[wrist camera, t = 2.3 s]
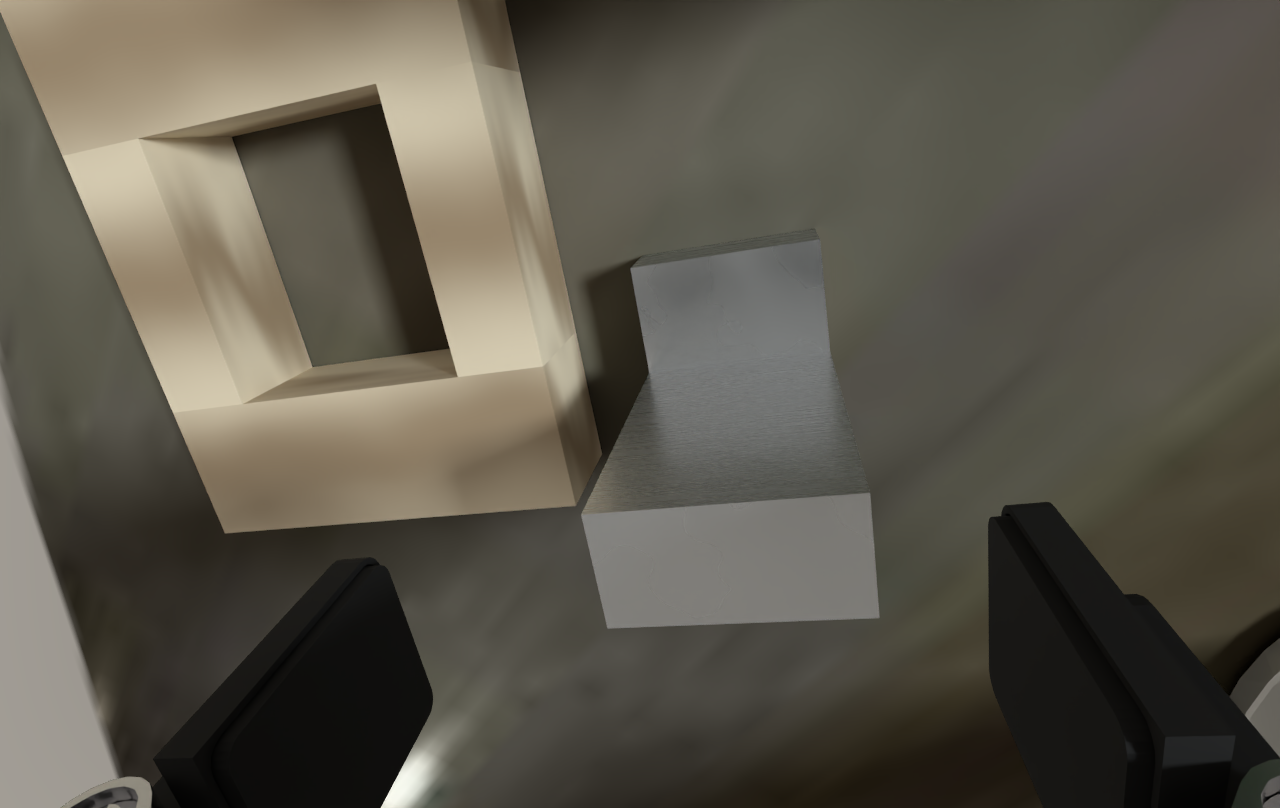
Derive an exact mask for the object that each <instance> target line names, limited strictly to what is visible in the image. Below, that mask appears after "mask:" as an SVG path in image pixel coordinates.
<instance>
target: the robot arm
mask: <svg viewBox="0 0 1280 808" xmlns="http://www.w3.org/2000/svg"><path fill="white" fill-rule="evenodd" d="M988 566H989V672H990V679H991V683H992V687H993V691H994V694H995V696H996V699H997V701H998V703H999V706H1000V708H1001V710H1002V713H1003V715H1004V717H1005V720H1006V722H1007V724H1008V726H1009V729H1010V731H1011V733H1012V736H1013V738H1014V740H1015V743H1016V745H1017V747H1018V750H1019V752H1020V754H1021V757H1022V759H1023V761H1024V764H1025V766H1026V768H1027V770H1028V773H1029V775H1030V777H1031V780H1032V782H1033V784H1034V787H1035V789H1036V791H1037V794H1038V796H1039V798H1040V801H1041V803H1042V805H1043V808H1280V638H1279V639H1278V640H1277V641H1275V642H1274V643H1273V644H1272V645H1271V646H1269V647H1268V648H1267V649H1266V650H1264V651H1263V653H1262V654H1261V655H1260V656H1259V657H1258V658H1257V659H1256V661H1255V662H1254V663H1253V664H1252V665H1251V666H1250V667H1249V669H1248V670H1247V671H1246V672H1245V673H1244V674H1243V676H1242V677H1241V678H1240V679H1239V681H1238V683H1237V684H1236V686H1235V688H1234V690H1233V692H1232V693H1231V695H1230V697H1229V696H1228V695H1227V693H1226V692H1225V691H1224V690H1223V689H1222V687H1221V686H1220V685H1219V684H1218V683H1217V681H1216V680H1215V679H1214V678H1213V677H1212V675H1211V674H1210V673H1209V672H1208V671H1207V669H1206V668H1205V667H1204V666H1203V665H1202V663H1201V662H1200V661H1199V660H1198V659H1197V657H1196V656H1195V655H1194V654H1193V653H1192V651H1191V650H1190V649H1189V648H1188V647H1187V645H1186V644H1185V643H1184V642H1183V641H1182V639H1181V638H1180V637H1179V636H1178V635H1177V633H1176V632H1175V631H1174V630H1173V629H1172V627H1171V626H1170V625H1169V624H1168V623H1167V621H1166V620H1165V619H1164V618H1163V617H1162V615H1161V614H1160V613H1159V612H1158V611H1157V609H1156V608H1155V607H1154V606H1153V605H1152V604H1151V603H1150V602H1149V601H1148V600H1147V599H1146V598H1145V597H1143V596H1141V595H1138V594H1127V595H1124V594H1123V593H1122V591H1121V590H1120V589H1119V588H1118V586H1117V585H1116V584H1115V583H1114V581H1113V580H1112V579H1111V577H1110V576H1109V575H1108V574H1107V572H1106V571H1105V570H1104V569H1103V567H1102V566H1101V565H1100V564H1099V562H1098V561H1097V560H1096V559H1095V557H1094V556H1093V555H1092V554H1091V552H1090V551H1089V550H1088V548H1087V547H1086V546H1085V545H1084V543H1083V542H1082V541H1081V540H1080V538H1079V537H1078V536H1077V535H1076V533H1075V532H1074V531H1073V530H1072V528H1071V527H1070V526H1069V524H1068V523H1067V522H1066V521H1065V519H1064V518H1063V517H1062V516H1061V514H1060V513H1059V512H1058V511H1057V509H1056V508H1055V507H1054V506H1053V505H1052V504H1051V503H1049V502H1042V503H1029V504H1017V505H1005V506H1004V507H1003V510H1002V515H1001V516H998V517H991V518H990V519H989V524H988ZM432 704H433V693H432V689H431V686H430V683H429V681H428V678H427V675H426V672H425V670H424V667H423V664H422V661H421V659H420V656H419V653H418V650H417V648H416V645H415V642H414V639H413V637H412V634H411V631H410V628H409V626H408V623H407V620H406V617H405V615H404V612H403V609H402V606H401V604H400V601H399V598H398V595H397V592H396V590H395V587H394V584H393V581H392V579H391V576H390V573H389V571H388V569H387V568H386V567H385V566H382V565H379V563H378V562H377V561H376V560H375V559H374V558H371V557H369V558H356V559H344V560H338V561H336V562H335V563H333V564H332V565H331V566H330V567H329V568H328V569H327V571H326V572H325V573H324V574H323V575H322V576H321V577H320V578H319V579H318V580H317V581H316V582H315V584H314V585H313V586H312V587H311V588H310V589H309V590H308V591H307V592H306V593H305V594H304V595H303V597H302V598H301V599H300V600H299V601H298V602H297V603H296V604H295V605H294V606H293V607H292V609H291V610H290V611H289V612H288V613H287V614H286V615H285V616H284V617H283V618H282V619H281V620H280V622H279V623H278V624H277V625H276V626H275V627H274V628H273V629H272V630H271V631H270V632H269V633H268V635H267V636H266V637H265V638H264V639H263V640H262V641H261V642H260V643H259V644H258V645H257V646H256V648H255V649H254V650H253V651H252V652H251V653H250V654H249V655H248V656H247V657H246V658H245V660H244V661H243V662H242V663H241V664H240V665H239V666H238V667H237V668H236V669H235V670H234V671H233V673H232V674H231V675H230V676H229V677H228V678H227V679H226V680H225V681H224V682H223V683H222V684H221V686H220V687H219V688H218V689H217V690H216V691H215V692H214V693H213V694H212V695H211V696H210V698H209V699H208V700H207V701H206V702H205V703H204V704H203V705H202V706H201V707H200V708H199V709H198V711H197V712H196V713H195V714H194V715H193V716H192V717H191V718H190V719H189V720H188V721H187V722H186V724H185V725H184V726H183V727H182V728H181V729H180V730H179V731H178V732H177V733H176V734H175V736H174V737H173V738H172V739H171V740H170V741H169V742H168V743H167V744H166V745H165V746H164V747H163V749H162V750H161V751H160V752H159V753H158V754H157V755H156V756H155V757H154V758H153V760H154V761H155V763H156V765H157V767H158V769H159V770H160V772H161V774H162V777H161V779H160V780H159V781H158V782H157V783H156V784H155V785H154V787H153V788H152V786H151V784H150V783H149V782H147V781H146V780H145V779H143V778H142V777H124V778H119V779H114V780H111V781H108V782H106V783H103V784H101V785H98V786H96V787H93V788H91V789H90V790H88V791H86V792H84V793H82V794H81V795H79V796H77V797H75V798H74V799H72V800H71V801H69V802H68V803H66V804H65V805H64V806H62V807H61V808H381V806H382V804H383V802H384V800H385V798H386V797H387V795H388V793H389V791H390V789H391V787H392V785H393V783H394V781H395V779H396V778H397V776H398V774H399V772H400V770H401V768H402V766H403V764H404V762H405V760H406V759H407V757H408V755H409V753H410V751H411V749H412V747H413V745H414V743H415V742H416V740H417V738H418V736H419V734H420V732H421V730H422V728H423V726H424V724H425V723H426V721H427V719H428V717H429V715H430V712H431V709H432Z"/></svg>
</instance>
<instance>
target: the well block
mask: <svg viewBox="0 0 1280 808" xmlns="http://www.w3.org/2000/svg"><path fill="white" fill-rule="evenodd" d="M0 12H1V14H2V17H3V19H4V21H5V24H6V26H7V28H8V31H9V33H10V35H11V38H12V40H13V42H14V44H15V47H16V49H17V51H18V54H19V56H20V58H21V61H22V63H23V65H24V68H25V70H26V72H27V75H28V77H29V79H30V82H31V84H32V86H33V89H34V91H35V93H36V96H37V98H38V100H39V103H40V105H41V107H42V110H43V112H44V114H45V116H46V119H47V121H48V123H49V126H50V128H51V130H52V133H53V135H54V137H55V140H56V142H57V144H58V147H59V149H60V151H61V154H62V156H63V158H64V161H65V163H66V165H67V168H68V170H69V172H70V175H71V177H72V179H73V181H74V184H75V186H76V188H77V191H78V193H79V195H80V198H81V200H82V202H83V205H84V207H85V209H86V212H87V214H88V216H89V219H90V221H91V223H92V226H93V228H94V230H95V233H96V235H97V237H98V240H99V242H100V244H101V247H102V249H103V251H104V253H105V256H106V258H107V260H108V263H109V265H110V267H111V270H112V272H113V274H114V277H115V279H116V281H117V284H118V286H119V288H120V291H121V293H122V295H123V298H124V300H125V302H126V305H127V307H128V309H129V312H130V314H131V316H132V318H133V321H134V323H135V325H136V328H137V330H138V332H139V335H140V337H141V339H142V342H143V344H144V346H145V349H146V351H147V353H148V356H149V358H150V360H151V363H152V365H153V367H154V370H155V372H156V374H157V377H158V379H159V381H160V384H161V386H162V388H163V390H164V393H165V395H166V397H167V400H168V402H169V404H170V407H171V409H172V411H173V414H174V416H175V418H176V421H177V423H178V425H179V428H180V430H181V432H182V435H183V437H184V439H185V442H186V444H187V446H188V449H189V451H190V453H191V456H192V458H193V460H194V462H195V465H196V467H197V469H198V472H199V474H200V476H201V479H202V481H203V483H204V486H205V488H206V490H207V493H208V495H209V497H210V500H211V502H212V504H213V507H214V509H215V511H216V514H217V516H218V518H219V521H220V523H221V525H222V527H223V530H224V532H225V533H236V532H249V531H261V530H274V529H287V528H300V527H313V526H325V525H338V524H351V523H364V522H376V521H389V520H402V519H415V518H427V517H440V516H453V515H466V514H478V513H491V512H504V511H517V510H529V509H542V508H555V507H568V506H576V505H577V503H578V501H579V499H580V497H581V495H582V493H583V491H584V489H585V487H586V485H587V483H588V481H589V479H590V477H591V475H592V473H593V471H594V469H595V467H596V465H597V463H598V461H599V459H600V457H601V455H602V451H601V446H600V442H599V437H598V432H597V428H596V423H595V419H594V414H593V409H592V405H591V400H590V395H589V391H588V386H587V381H586V377H585V372H584V367H583V363H582V358H581V353H580V349H579V344H578V339H577V335H576V330H575V325H574V321H573V316H572V311H571V307H570V302H569V297H568V293H567V288H566V283H565V279H564V274H563V269H562V265H561V260H560V255H559V251H558V246H557V241H556V237H555V232H554V227H553V223H552V218H551V214H550V209H549V204H548V200H547V195H546V190H545V186H544V181H543V176H542V172H541V167H540V162H539V158H538V153H537V148H536V144H535V139H534V134H533V130H532V125H531V120H530V116H529V111H528V106H527V102H526V97H525V92H524V88H523V83H522V78H521V74H520V69H519V64H518V60H517V55H516V50H515V46H514V41H513V36H512V32H511V27H510V22H509V18H508V13H507V9H506V4H505V0H0ZM377 104H382V107H383V111H384V114H385V118H386V121H387V125H388V129H389V132H390V136H391V139H392V143H393V146H394V150H395V154H396V157H397V161H398V164H399V168H400V172H401V175H402V179H403V182H404V186H405V189H406V193H407V197H408V200H409V204H410V207H411V211H412V215H413V218H414V222H415V225H416V229H417V232H418V236H419V240H420V243H421V247H422V250H423V254H424V258H425V261H426V265H427V268H428V272H429V275H430V279H431V283H432V286H433V290H434V293H435V297H436V301H437V304H438V308H439V311H440V315H441V318H442V322H443V326H444V329H445V333H446V336H447V340H448V344H449V347H450V349H443V350H436V351H429V352H421V353H414V354H406V355H399V356H392V357H384V358H377V359H369V360H362V361H355V362H347V363H340V364H332V365H325V366H318V367H312V364H311V361H310V359H309V356H308V353H307V350H306V347H305V344H304V342H303V339H302V336H301V333H300V330H299V327H298V324H297V322H296V319H295V316H294V313H293V310H292V307H291V304H290V302H289V299H288V296H287V293H286V290H285V287H284V285H283V282H282V279H281V276H280V273H279V270H278V267H277V265H276V262H275V259H274V256H273V253H272V250H271V247H270V245H269V242H268V239H267V236H266V233H265V230H264V227H263V225H262V222H261V219H260V216H259V213H258V210H257V208H256V205H255V202H254V199H253V196H252V193H251V190H250V188H249V185H248V182H247V179H246V176H245V173H244V170H243V168H242V165H241V162H240V159H239V156H238V153H237V151H236V148H235V145H234V142H233V139H232V137H233V136H238V135H242V134H247V133H251V132H256V131H260V130H265V129H269V128H274V127H278V126H283V125H287V124H292V123H296V122H300V121H305V120H309V119H314V118H318V117H323V116H327V115H332V114H336V113H341V112H345V111H350V110H354V109H359V108H363V107H368V106H372V105H377Z"/></svg>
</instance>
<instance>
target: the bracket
mask: <svg viewBox="0 0 1280 808" xmlns="http://www.w3.org/2000/svg"><path fill="white" fill-rule="evenodd" d="M630 269H631V275H632V280H633V286H634V291H635V297H636V302H637V308H638V313H639V319H640V324H641V330H642V335H643V341H644V346H645V352H646V357H647V363H648V368H649V374H648V376H647V378H646V380H645V383H644V385H643V387H642V389H641V391H640V393H639V395H638V397H637V399H636V401H635V403H634V405H633V408H632V410H631V412H630V414H629V416H628V418H627V420H626V422H625V424H624V426H623V428H622V431H621V433H620V435H619V437H618V439H617V441H616V443H615V445H614V447H613V449H612V451H611V454H610V456H609V458H608V460H607V462H606V464H605V466H604V468H603V470H602V472H601V474H600V476H599V479H598V481H597V483H596V485H595V487H594V489H593V491H592V493H591V495H590V497H589V499H588V502H587V504H586V506H585V508H584V510H583V512H582V514H581V516H582V520H583V525H584V529H585V533H586V537H587V542H588V546H589V550H590V555H591V559H592V563H593V567H594V572H595V576H596V580H597V585H598V589H599V593H600V598H601V602H602V606H603V610H604V615H605V619H606V623H607V628H631V627H657V626H683V625H709V624H735V623H761V622H787V621H813V620H839V619H865V618H879V606H878V592H877V579H876V566H875V553H874V539H873V526H872V513H871V500H870V491H869V488H868V484H867V480H866V477H865V473H864V470H863V466H862V463H861V459H860V456H859V452H858V449H857V445H856V442H855V438H854V434H853V431H852V427H851V424H850V420H849V417H848V413H847V410H846V406H845V403H844V399H843V396H842V392H841V388H840V385H839V381H838V378H837V374H836V371H835V367H834V364H833V360H832V357H831V353H830V346H829V335H828V324H827V313H826V302H825V291H824V280H823V268H822V257H821V246H820V238H819V236H818V234H817V232H816V230H815V229H810V230H804V231H798V232H791V233H785V234H778V235H772V236H766V237H759V238H753V239H746V240H740V241H734V242H727V243H721V244H714V245H708V246H702V247H695V248H689V249H682V250H676V251H670V252H663V253H657V254H650V255H644V256H642V257H641V258H640V259H639V260H638V261H637V262H636V263H635V264H634V265H633V266H632V267H631V268H630Z"/></svg>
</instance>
